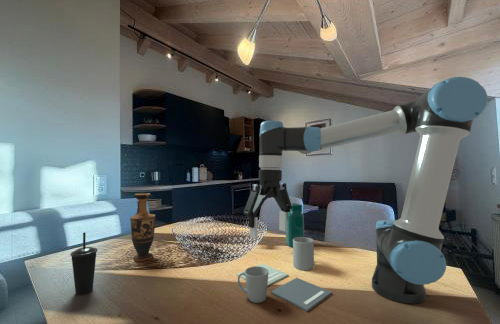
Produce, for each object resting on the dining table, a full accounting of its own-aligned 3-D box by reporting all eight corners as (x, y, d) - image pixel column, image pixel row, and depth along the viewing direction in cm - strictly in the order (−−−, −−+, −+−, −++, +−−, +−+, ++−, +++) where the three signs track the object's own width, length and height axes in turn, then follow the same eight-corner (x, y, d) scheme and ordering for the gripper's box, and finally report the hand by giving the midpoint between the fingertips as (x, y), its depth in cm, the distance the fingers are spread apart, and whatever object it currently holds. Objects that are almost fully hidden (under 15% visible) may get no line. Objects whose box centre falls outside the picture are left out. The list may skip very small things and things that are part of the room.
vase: (158, 259, 110) (157, 193, 110) (132, 265, 104) (132, 195, 104) (152, 252, 119) (152, 192, 119) (128, 257, 112) (128, 193, 113)
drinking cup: (81, 285, 86) (81, 229, 86) (102, 285, 85) (102, 229, 86) (64, 297, 78) (64, 235, 78) (87, 297, 78) (87, 235, 78)
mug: (314, 271, 94) (313, 243, 95) (292, 269, 97) (291, 242, 97) (314, 260, 106) (313, 235, 106) (294, 258, 108) (294, 234, 108)
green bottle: (285, 242, 131) (284, 202, 132) (300, 241, 132) (299, 201, 132) (290, 248, 121) (289, 205, 122) (306, 247, 122) (305, 204, 123)
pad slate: (331, 293, 78) (331, 291, 78) (306, 311, 68) (306, 309, 68) (296, 279, 88) (296, 277, 88) (270, 293, 79) (270, 290, 79)
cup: (267, 306, 71) (266, 277, 71) (234, 302, 73) (234, 274, 74) (270, 293, 79) (270, 267, 79) (241, 290, 81) (240, 264, 81)
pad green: (288, 275, 91) (288, 273, 91) (262, 288, 82) (262, 286, 82) (262, 265, 101) (262, 263, 101) (236, 275, 92) (236, 273, 92)
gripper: (286, 168, 89) (285, 225, 89) (232, 168, 73) (231, 238, 72) (302, 169, 83) (301, 230, 83) (249, 169, 67) (247, 244, 67)
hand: (268, 234), depth 78 cm, fingers open, 13 cm apart
